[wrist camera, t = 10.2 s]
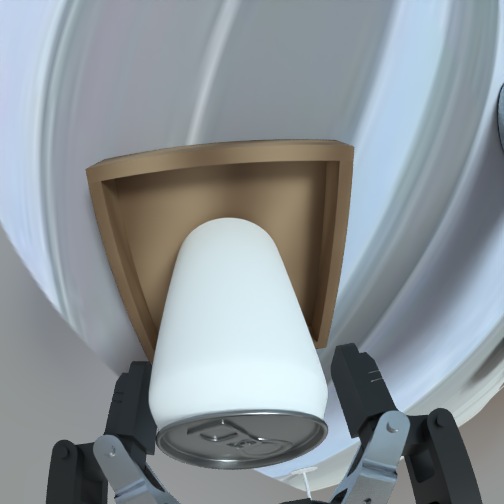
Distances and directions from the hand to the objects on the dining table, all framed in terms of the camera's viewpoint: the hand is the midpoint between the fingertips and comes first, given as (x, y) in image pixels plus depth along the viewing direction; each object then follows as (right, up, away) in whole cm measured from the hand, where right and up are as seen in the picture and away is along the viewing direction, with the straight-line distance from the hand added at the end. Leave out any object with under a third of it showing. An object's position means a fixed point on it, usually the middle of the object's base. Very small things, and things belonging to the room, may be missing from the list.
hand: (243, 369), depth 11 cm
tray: (-1, +5, +7) cm, 9 cm away
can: (-1, +4, +7) cm, 8 cm away
